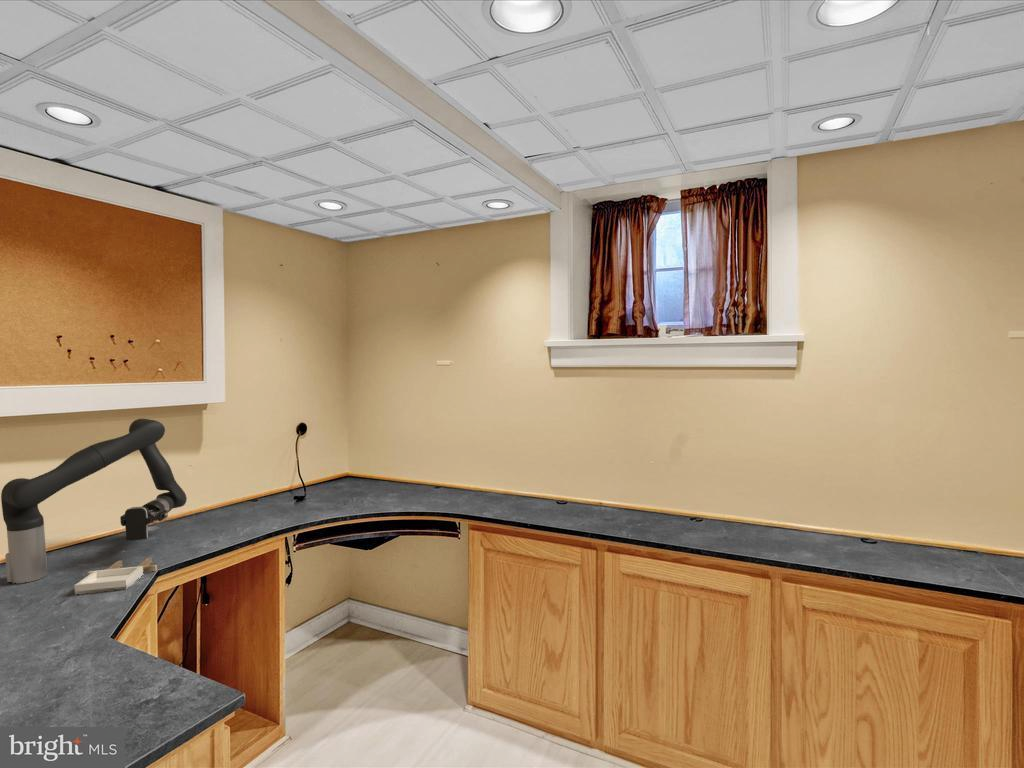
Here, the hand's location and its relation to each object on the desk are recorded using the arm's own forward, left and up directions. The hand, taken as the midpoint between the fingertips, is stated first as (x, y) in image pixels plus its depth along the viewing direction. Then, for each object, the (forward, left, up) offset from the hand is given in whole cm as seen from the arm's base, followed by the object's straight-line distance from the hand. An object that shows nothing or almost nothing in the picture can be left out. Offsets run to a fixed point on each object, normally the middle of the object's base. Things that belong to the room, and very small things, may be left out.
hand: (135, 522), depth 195 cm
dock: (0, -7, -14) cm, 16 cm away
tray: (0, -20, -14) cm, 24 cm away
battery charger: (0, +2, -7) cm, 7 cm away
